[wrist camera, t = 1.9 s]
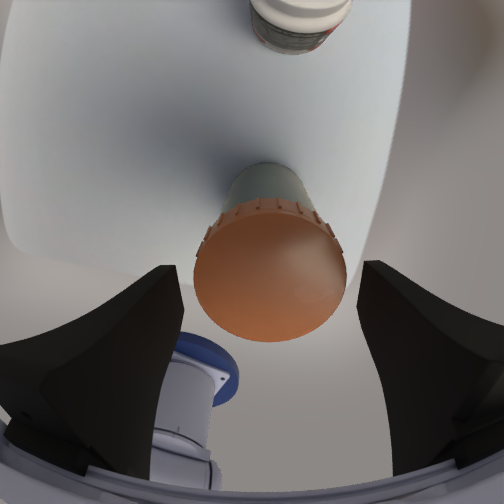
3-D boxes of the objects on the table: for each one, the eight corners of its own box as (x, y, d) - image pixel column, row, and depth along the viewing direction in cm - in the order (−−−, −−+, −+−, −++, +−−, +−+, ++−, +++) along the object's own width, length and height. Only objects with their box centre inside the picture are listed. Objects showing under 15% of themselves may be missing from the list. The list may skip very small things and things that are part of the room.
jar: (281, 247, 22) (292, 347, 13) (215, 215, 21) (181, 301, 12) (320, 186, 19) (365, 254, 11) (250, 148, 18) (238, 186, 10)
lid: (292, 334, 14) (294, 359, 12) (180, 286, 13) (170, 309, 11) (365, 238, 12) (378, 258, 10) (238, 169, 10) (233, 179, 9)
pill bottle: (323, 61, 16) (366, 31, 8) (248, 51, 15) (237, 9, 8) (330, 1, 13) (369, -55, 6) (256, -10, 13) (252, -76, 6)
